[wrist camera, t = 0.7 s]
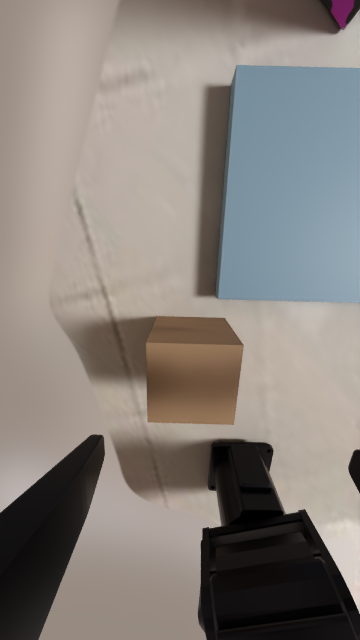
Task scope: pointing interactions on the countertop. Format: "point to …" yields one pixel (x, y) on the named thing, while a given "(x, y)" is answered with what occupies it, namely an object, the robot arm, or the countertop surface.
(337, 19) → the candy bar box
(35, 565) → the robot arm
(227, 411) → the walnut cube
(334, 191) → the slate board
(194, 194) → the countertop surface
